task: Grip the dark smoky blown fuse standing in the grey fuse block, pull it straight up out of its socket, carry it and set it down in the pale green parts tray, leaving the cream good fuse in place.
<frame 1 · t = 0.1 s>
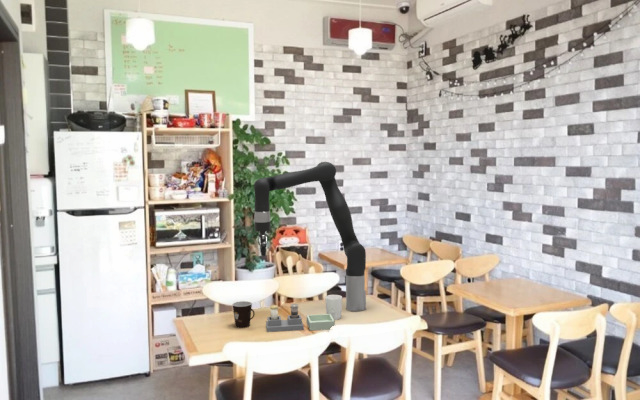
hand: (263, 254, 250), 29 cm above the table, tool pointing down, fingers open, 8 cm apart
fuse block: (284, 327, 232), on the table
good fuse: (274, 323, 231), point 2 cm above the table, touching fuse block
blown fuse: (294, 322, 233), point 2 cm above the table, touching fuse block
parts tray: (320, 325, 234), on the table
coffee mug: (243, 327, 234), on the table
white cup: (333, 318, 245), on the table
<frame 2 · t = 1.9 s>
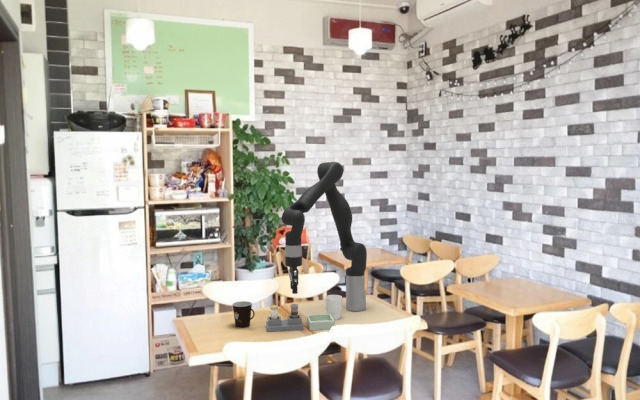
hand: (293, 291, 231), 16 cm above the table, tool pointing down, fingers open, 8 cm apart
nothing on the table moved.
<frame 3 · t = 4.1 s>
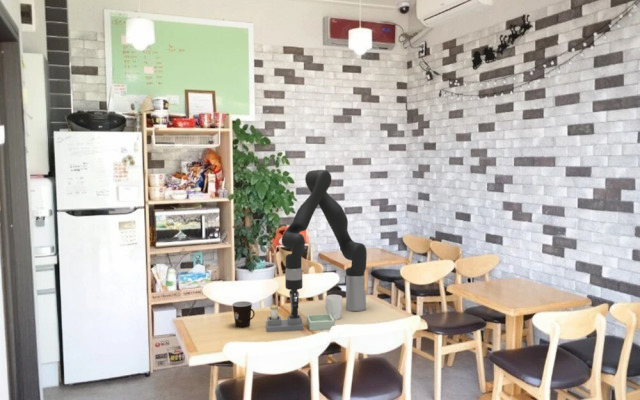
hand: (294, 315, 232), 5 cm above the table, tool pointing down, fingers closed on blown fuse, 3 cm apart
blown fuse: (294, 322, 233), point 2 cm above the table, touching fuse block, gripper
everything else where it was.
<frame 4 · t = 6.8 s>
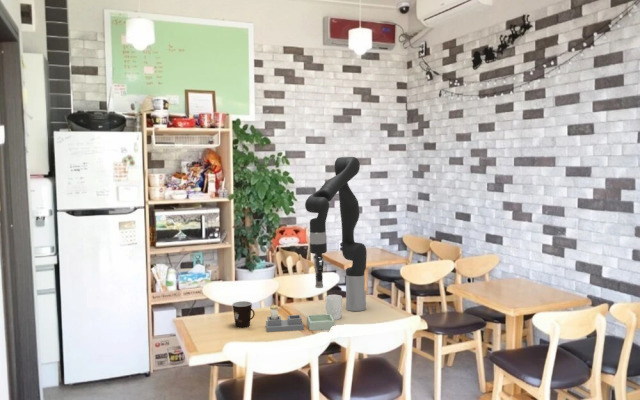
hand: (319, 280, 232), 21 cm above the table, tool pointing down, fingers closed on blown fuse, 3 cm apart
blown fuse: (319, 287, 233), point 18 cm above the table, touching gripper
everything else where it was.
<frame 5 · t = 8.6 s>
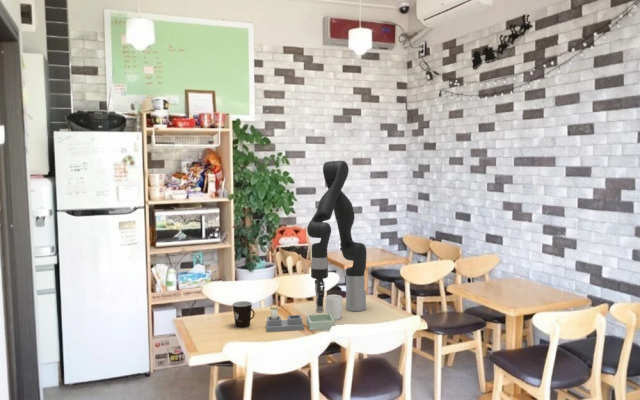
hand: (319, 304, 233), 10 cm above the table, tool pointing down, fingers closed on blown fuse, 3 cm apart
blown fuse: (319, 311, 233), point 6 cm above the table, touching gripper
everything else where it was.
when the fingers open (6 cm above the table, at t = 9.9 s): blown fuse drops 2 cm, resting on parts tray.
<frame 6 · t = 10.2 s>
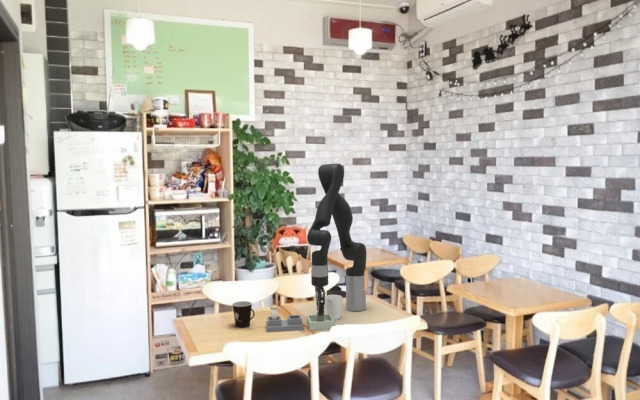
hand: (320, 311, 233), 7 cm above the table, tool pointing down, fingers open, 5 cm apart
blown fuse: (320, 323, 234), point 1 cm above the table, touching parts tray
everything else where it was.
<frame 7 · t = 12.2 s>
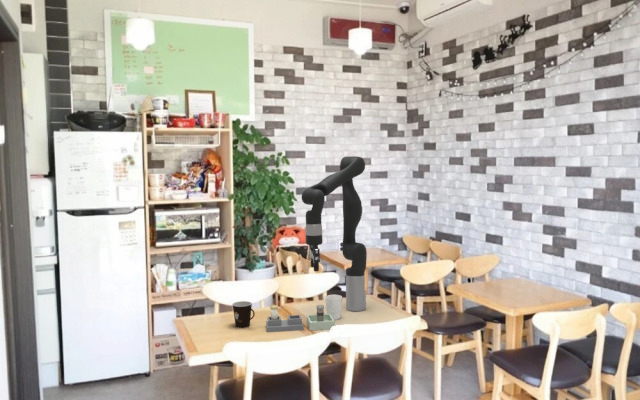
hand: (314, 269, 236), 25 cm above the table, tool pointing down, fingers open, 8 cm apart
nothing on the table moved.
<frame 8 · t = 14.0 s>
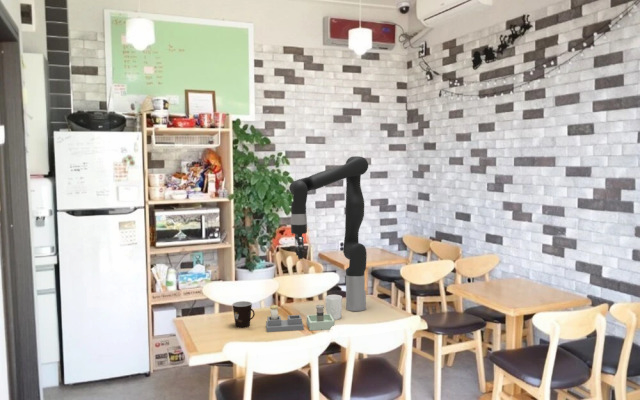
hand: (299, 257, 248), 28 cm above the table, tool pointing down, fingers open, 8 cm apart
nothing on the table moved.
at the end: blown fuse inside the target area on the parts tray (0.0 cm from its centre), point 1.0 cm above the parts tray's base; good fuse moved 0.0 cm from its start; the gripper is holding nothing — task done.
